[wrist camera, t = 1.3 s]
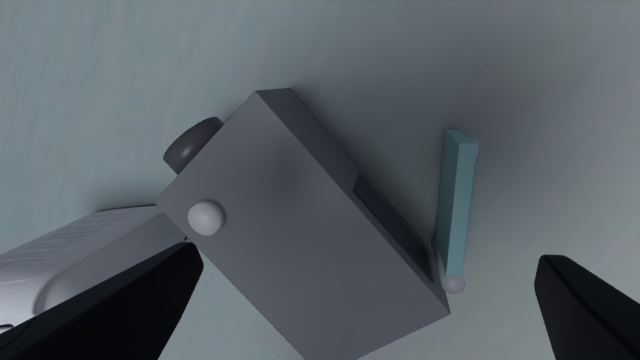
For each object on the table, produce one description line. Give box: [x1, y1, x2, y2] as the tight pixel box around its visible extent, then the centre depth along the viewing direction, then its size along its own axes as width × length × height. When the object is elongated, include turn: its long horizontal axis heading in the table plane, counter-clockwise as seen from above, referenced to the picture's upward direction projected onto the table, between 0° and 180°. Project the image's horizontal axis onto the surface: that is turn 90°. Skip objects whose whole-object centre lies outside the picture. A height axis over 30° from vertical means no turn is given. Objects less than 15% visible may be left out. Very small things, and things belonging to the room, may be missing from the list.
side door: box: [432, 129, 479, 294], centre depth 18 cm, size 9×1×5 cm, turn 3°
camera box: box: [154, 88, 451, 360], centre depth 20 cm, size 18×10×6 cm, turn 43°
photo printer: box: [0, 206, 186, 334], centre depth 21 cm, size 10×4×12 cm, turn 101°
